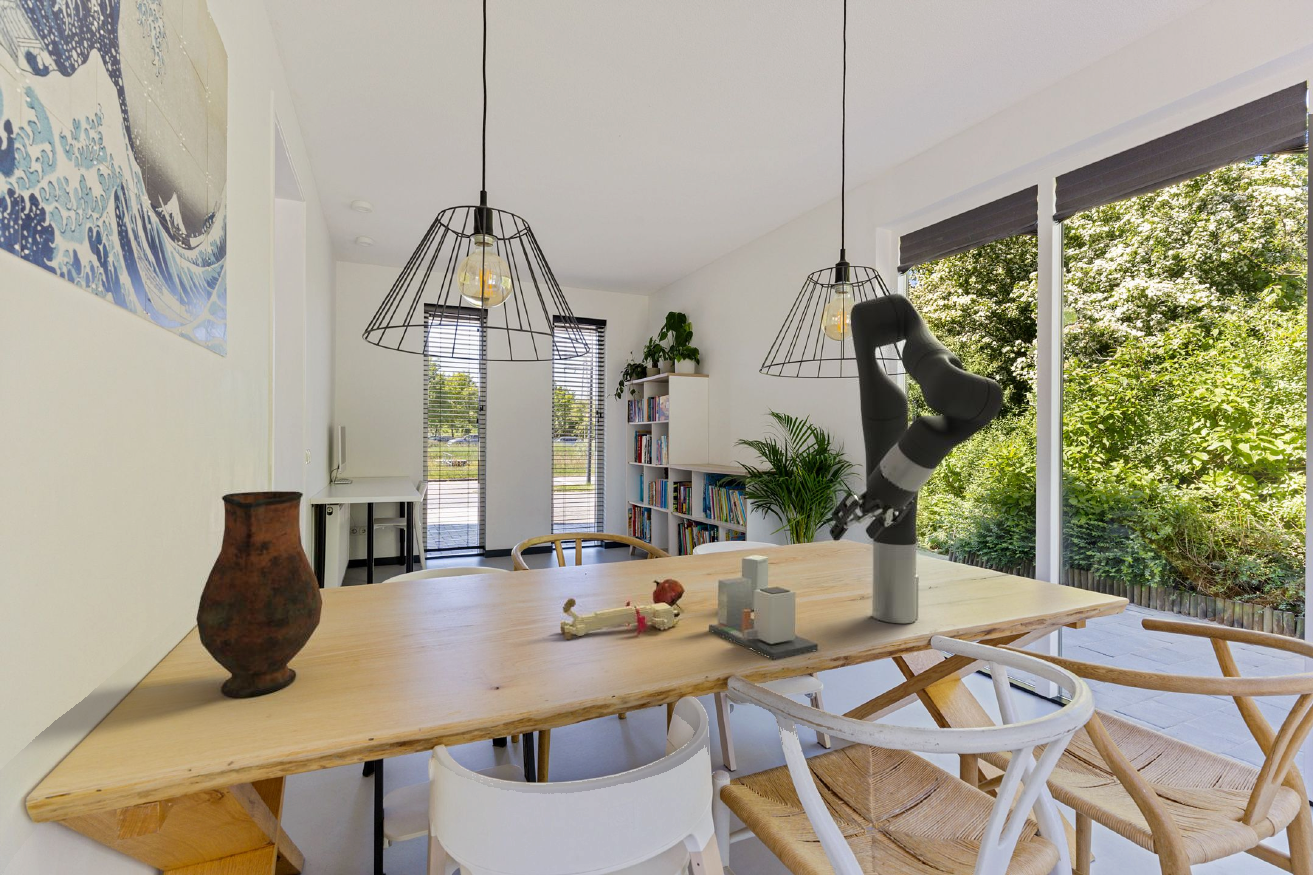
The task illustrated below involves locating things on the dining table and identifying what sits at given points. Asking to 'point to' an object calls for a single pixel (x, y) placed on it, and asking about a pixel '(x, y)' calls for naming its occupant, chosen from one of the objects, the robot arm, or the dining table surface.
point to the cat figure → (619, 618)
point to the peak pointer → (746, 620)
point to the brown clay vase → (259, 594)
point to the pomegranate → (668, 592)
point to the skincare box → (756, 573)
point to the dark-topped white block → (773, 615)
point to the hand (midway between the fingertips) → (851, 535)
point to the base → (732, 602)
